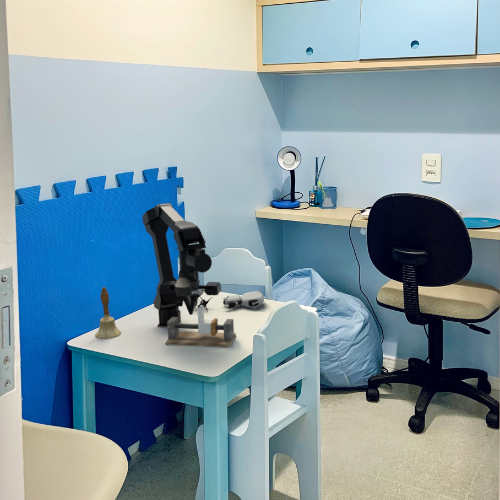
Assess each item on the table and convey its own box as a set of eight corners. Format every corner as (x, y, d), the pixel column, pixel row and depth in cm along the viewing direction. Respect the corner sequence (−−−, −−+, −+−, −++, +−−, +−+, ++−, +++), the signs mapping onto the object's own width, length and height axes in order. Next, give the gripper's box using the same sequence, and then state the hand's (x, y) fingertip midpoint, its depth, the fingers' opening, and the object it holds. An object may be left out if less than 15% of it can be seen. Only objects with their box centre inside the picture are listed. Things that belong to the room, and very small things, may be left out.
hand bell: (113, 339, 206) (109, 291, 203) (90, 338, 208) (86, 290, 205) (125, 331, 214) (122, 284, 211) (103, 329, 216) (99, 283, 213)
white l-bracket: (198, 333, 201) (197, 308, 199) (201, 329, 204) (200, 305, 203) (211, 334, 200) (209, 308, 198) (213, 330, 203) (212, 305, 202)
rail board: (165, 344, 200) (164, 324, 199) (175, 333, 210) (174, 314, 208) (228, 347, 196) (227, 326, 195) (235, 336, 206) (235, 316, 204)
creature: (203, 318, 229) (216, 307, 235) (201, 304, 227) (213, 294, 233) (186, 314, 233) (199, 304, 239) (183, 301, 231) (196, 291, 237)
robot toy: (224, 315, 231) (266, 309, 232) (223, 303, 230) (264, 297, 231) (223, 305, 243) (262, 300, 244) (222, 293, 242) (261, 288, 243)
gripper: (151, 271, 193) (154, 321, 196) (212, 273, 189) (214, 323, 193) (162, 263, 203) (165, 310, 207) (220, 264, 200) (222, 312, 203)
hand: (191, 314), depth 202 cm, fingers closed
